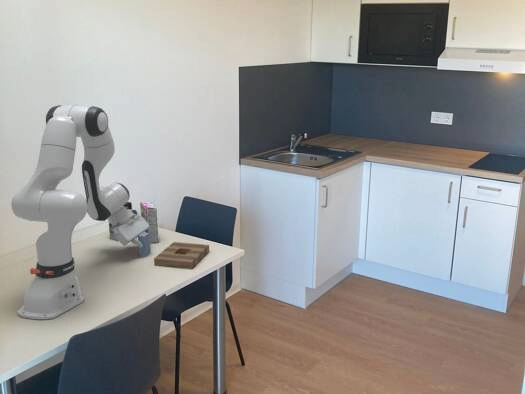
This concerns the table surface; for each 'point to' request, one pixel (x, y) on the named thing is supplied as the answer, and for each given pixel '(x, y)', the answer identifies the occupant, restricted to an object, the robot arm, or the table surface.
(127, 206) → the coffee box
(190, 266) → the walnut block
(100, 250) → the table surface
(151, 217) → the candy bar box
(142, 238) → the grey post
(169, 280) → the table surface
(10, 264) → the table surface
